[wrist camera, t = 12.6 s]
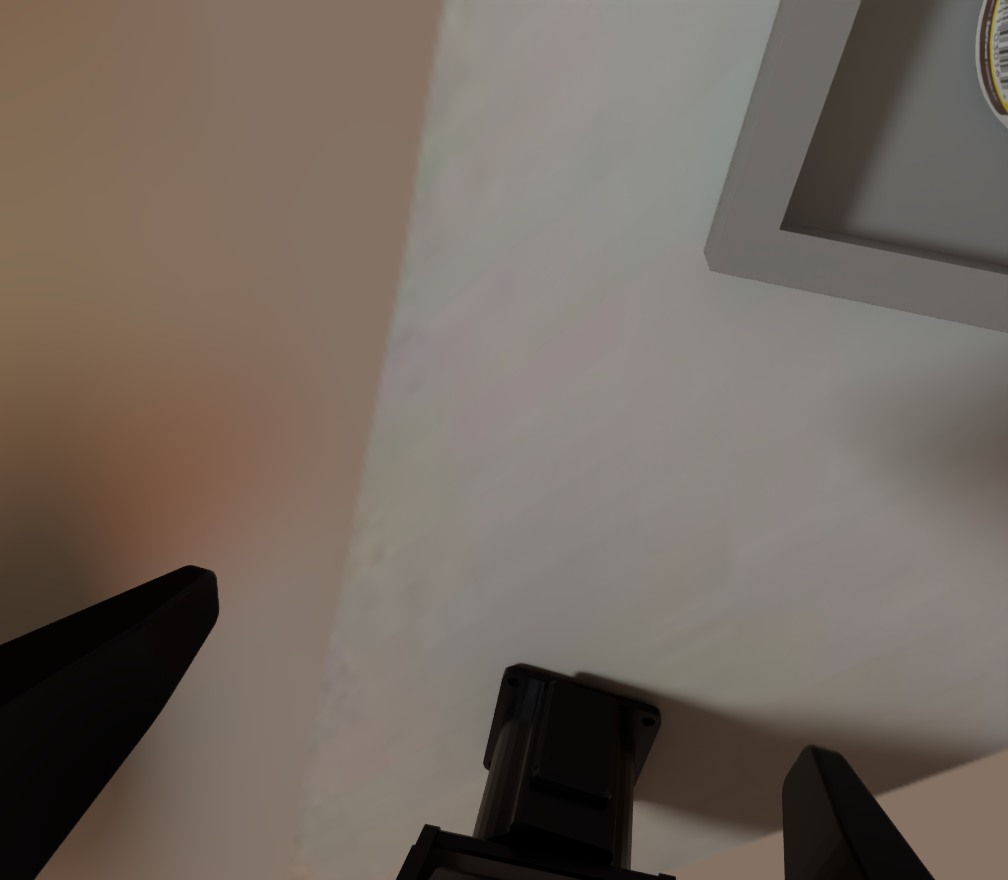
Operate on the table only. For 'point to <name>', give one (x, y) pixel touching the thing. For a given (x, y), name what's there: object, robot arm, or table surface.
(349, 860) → the table surface
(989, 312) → the tray
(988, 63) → the supplement bottle
